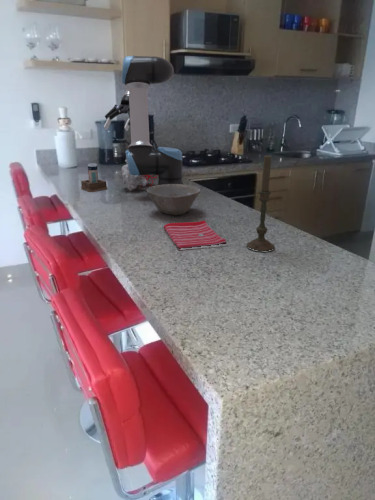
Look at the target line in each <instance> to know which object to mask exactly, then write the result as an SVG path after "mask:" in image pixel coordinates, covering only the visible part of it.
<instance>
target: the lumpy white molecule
mask: <svg viewBox="0 0 375 500" xmlns="http://www.w3.org/2000/svg"><path fill="white" fill-rule="evenodd" d="M124 162H125V163H126V164H124V165H123V166H122V167H121V176H122V177H121V178H122V184H123V185H126V187H127V190H129V192H131V191H134V190H135V189H137V186H140V187H146V185H148V186H149V187H152V186H153V184H154V180H153V179H158V175H140V176H139V175H131V174H130V173H129V169H128V164H127V159H125V160H124ZM154 176H155V177H154ZM149 179H151V180H150V181H149ZM150 182H151V184H148V183H150Z"/></svg>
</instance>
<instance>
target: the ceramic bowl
mask: <svg viewBox="0 0 375 500" xmlns="http://www.w3.org/2000/svg"><path fill="white" fill-rule="evenodd" d="M146 192H147V194H148V196H149V198H150V199H151V201H152V202H153V204H154V206H155V207H156V208H157V209H158V211H160V212H161V213H164V214H166V215H171V216H181V214H182V215H184V214H185V213H186V212H187V211H188V210H190V209H191V207H192V206H193V204H194V202H195V201H196V198H197V197H198V195H199V194H200V193H201V189H200V188H199V187H196V186H194V185H189V184H183V185H182V184H172V185H171V184H167V185H166V184H164V185H157V184H156V185H152V186H151V187H150V186H149V187H148V188H146Z"/></svg>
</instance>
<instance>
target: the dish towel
mask: <svg viewBox="0 0 375 500" xmlns="http://www.w3.org/2000/svg"><path fill="white" fill-rule="evenodd" d="M163 230H164V231H165V230H166V231H165V233H166V232H167V233H168V234H167V233H166V234H167V236H168V235H169V236H170V237H169V236H168V237H169V239H170V238H171V239H172V240H171V239H170V240H171V242H172V241H173V242H174V243H175V244H176V246H177V247H178V248H179V249H181V248H192V247H201V246H211V245H219V244H227V240H226V239H225V238H223V237H221V236H220V235H219V234H218V233H216V231H214V230H213V228H211V227H210V225H209V224H208V223H207V221H205V220H201V221H192V222H191V221H188V222H172V223H171V222H170V223H166V224H164V226H163ZM199 234H203V235H204V236H202V237H201V236H198V235H199ZM173 242H172V243H173ZM174 243H173V244H174ZM175 244H174V245H175ZM176 246H175V247H176ZM177 247H176V248H177ZM178 248H177V249H178ZM179 249H178V250H179Z"/></svg>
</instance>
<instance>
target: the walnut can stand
mask: <svg viewBox="0 0 375 500" xmlns="http://www.w3.org/2000/svg"><path fill="white" fill-rule="evenodd" d="M80 181H81V186H80V189H81V190H83V191H85V192H89V193H91V192H92V193H93V192H99V191H106V190H108V186H107V181H105V180H102V179H99V178H98V182H95V183H89V179H88V180H87V179H86V180H80Z"/></svg>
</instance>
